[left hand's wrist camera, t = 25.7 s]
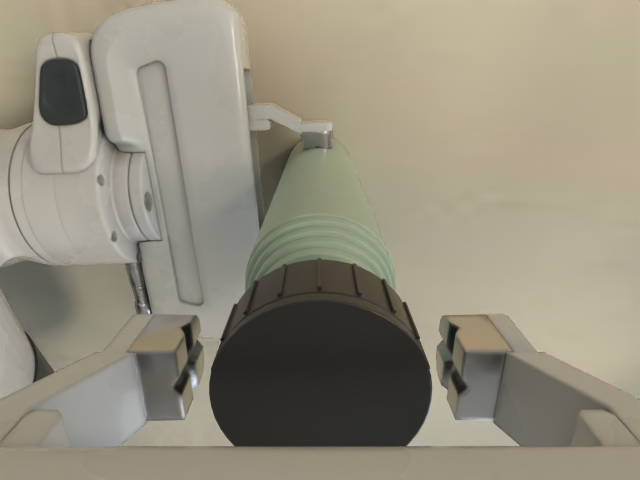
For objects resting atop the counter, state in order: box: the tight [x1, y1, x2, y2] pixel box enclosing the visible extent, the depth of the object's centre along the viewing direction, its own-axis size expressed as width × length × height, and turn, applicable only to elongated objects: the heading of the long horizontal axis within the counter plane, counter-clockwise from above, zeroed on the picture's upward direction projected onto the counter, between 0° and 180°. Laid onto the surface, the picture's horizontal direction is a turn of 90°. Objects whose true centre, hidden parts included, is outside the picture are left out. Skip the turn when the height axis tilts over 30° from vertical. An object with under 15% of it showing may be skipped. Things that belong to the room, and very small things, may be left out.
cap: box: [209, 258, 432, 447], centre depth 9 cm, size 4×5×2 cm
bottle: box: [245, 138, 395, 292], centre depth 20 cm, size 5×5×23 cm
